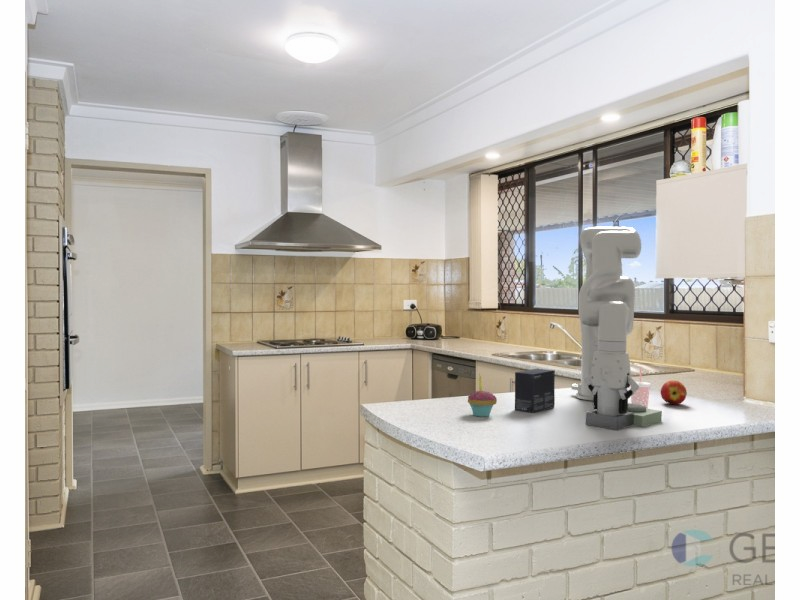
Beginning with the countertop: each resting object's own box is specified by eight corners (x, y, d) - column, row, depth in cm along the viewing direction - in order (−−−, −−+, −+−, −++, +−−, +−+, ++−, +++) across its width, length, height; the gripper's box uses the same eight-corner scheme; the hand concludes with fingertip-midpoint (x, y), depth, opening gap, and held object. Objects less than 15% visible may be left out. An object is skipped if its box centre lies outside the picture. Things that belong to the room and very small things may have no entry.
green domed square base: (596, 418, 186) (596, 404, 186) (616, 413, 194) (616, 400, 194) (642, 426, 176) (642, 412, 176) (661, 421, 184) (661, 407, 184)
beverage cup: (646, 414, 194) (648, 368, 194) (626, 411, 198) (627, 366, 198) (652, 411, 199) (653, 366, 199) (632, 408, 203) (633, 365, 202)
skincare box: (616, 420, 180) (617, 377, 180) (623, 423, 176) (625, 380, 176) (595, 420, 180) (596, 377, 179) (602, 423, 175) (603, 379, 175)
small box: (536, 404, 207) (537, 368, 206) (555, 408, 202) (556, 370, 202) (513, 410, 197) (514, 371, 197) (532, 413, 192) (533, 373, 192)
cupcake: (462, 413, 190) (463, 373, 190) (487, 411, 193) (488, 372, 193) (475, 418, 182) (476, 377, 182) (501, 417, 185) (502, 376, 185)
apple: (661, 405, 210) (662, 381, 210) (659, 401, 218) (659, 378, 218) (687, 407, 208) (688, 382, 208) (684, 403, 216) (685, 379, 216)
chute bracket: (585, 424, 178) (586, 412, 177) (603, 419, 184) (604, 407, 184) (615, 430, 171) (616, 417, 171) (633, 425, 178) (633, 412, 178)
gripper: (577, 345, 181) (575, 407, 182) (635, 350, 168) (633, 417, 169) (590, 343, 186) (588, 404, 187) (648, 349, 174) (646, 414, 174)
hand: (610, 410), depth 178 cm, fingers closed on skincare box, 6 cm apart
